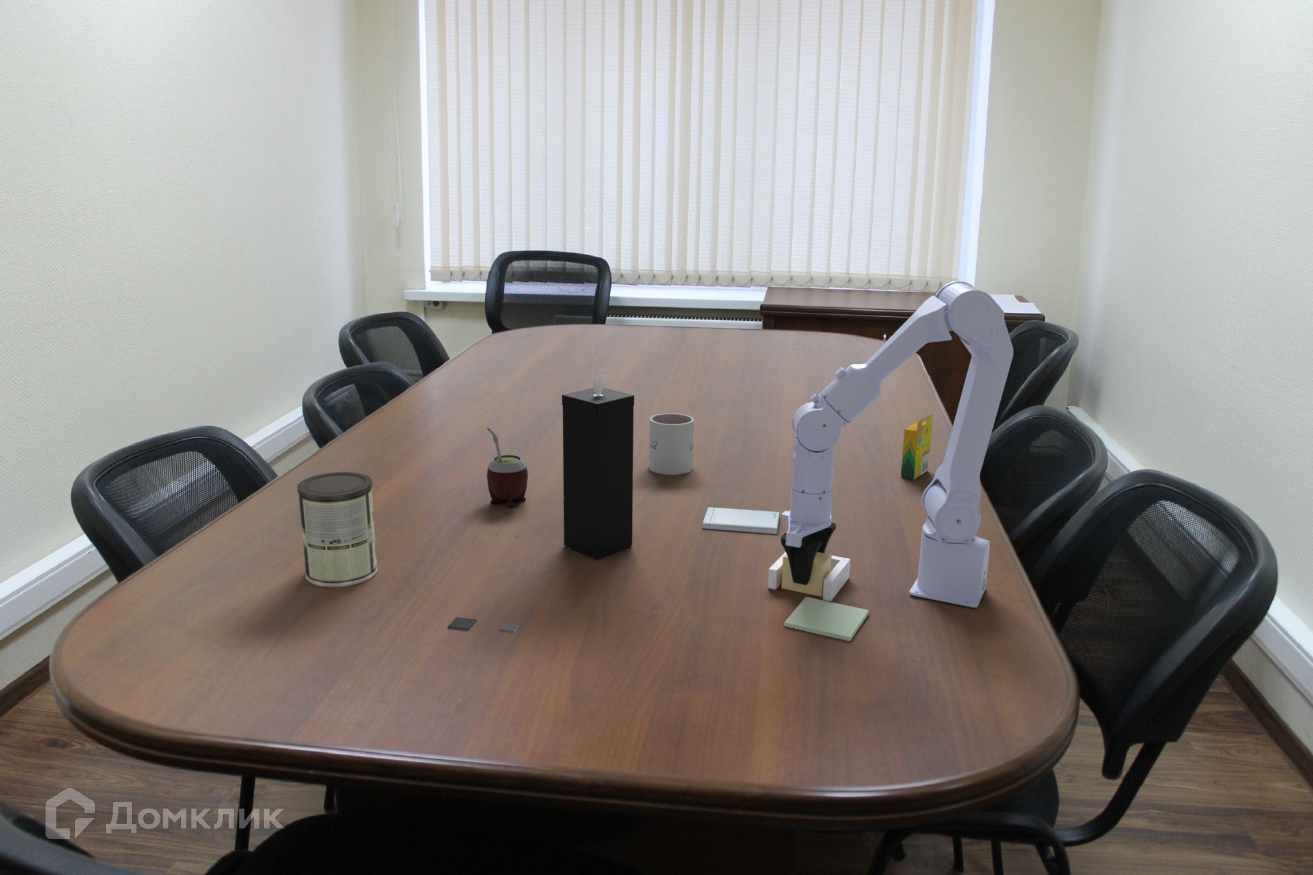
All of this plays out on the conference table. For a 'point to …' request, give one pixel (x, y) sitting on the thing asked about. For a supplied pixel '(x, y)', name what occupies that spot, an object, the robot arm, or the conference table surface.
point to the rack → (831, 582)
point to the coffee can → (338, 529)
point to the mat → (827, 618)
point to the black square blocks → (468, 623)
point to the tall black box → (598, 469)
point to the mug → (671, 443)
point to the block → (816, 580)
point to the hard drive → (741, 520)
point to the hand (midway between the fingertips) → (806, 576)
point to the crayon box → (916, 449)
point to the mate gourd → (506, 477)
